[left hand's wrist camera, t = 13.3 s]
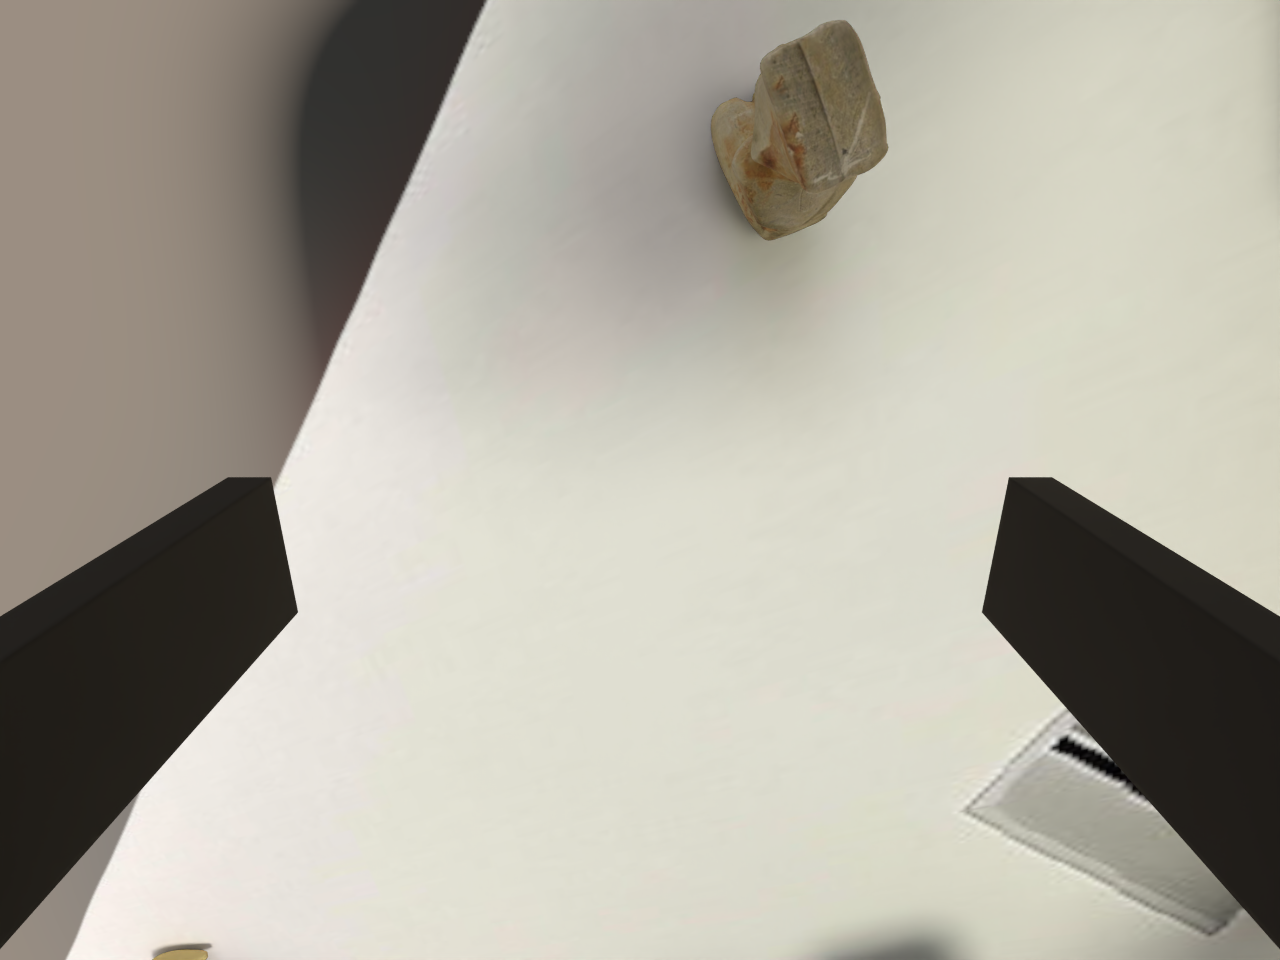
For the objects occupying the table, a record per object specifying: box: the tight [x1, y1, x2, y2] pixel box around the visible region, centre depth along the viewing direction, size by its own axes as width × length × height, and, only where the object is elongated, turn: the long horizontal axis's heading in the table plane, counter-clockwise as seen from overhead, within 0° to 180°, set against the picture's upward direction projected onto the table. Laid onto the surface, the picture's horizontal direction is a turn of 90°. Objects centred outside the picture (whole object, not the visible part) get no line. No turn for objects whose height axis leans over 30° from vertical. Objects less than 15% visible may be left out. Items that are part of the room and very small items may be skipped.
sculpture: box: [711, 20, 888, 240], centre depth 30 cm, size 6×7×15 cm
